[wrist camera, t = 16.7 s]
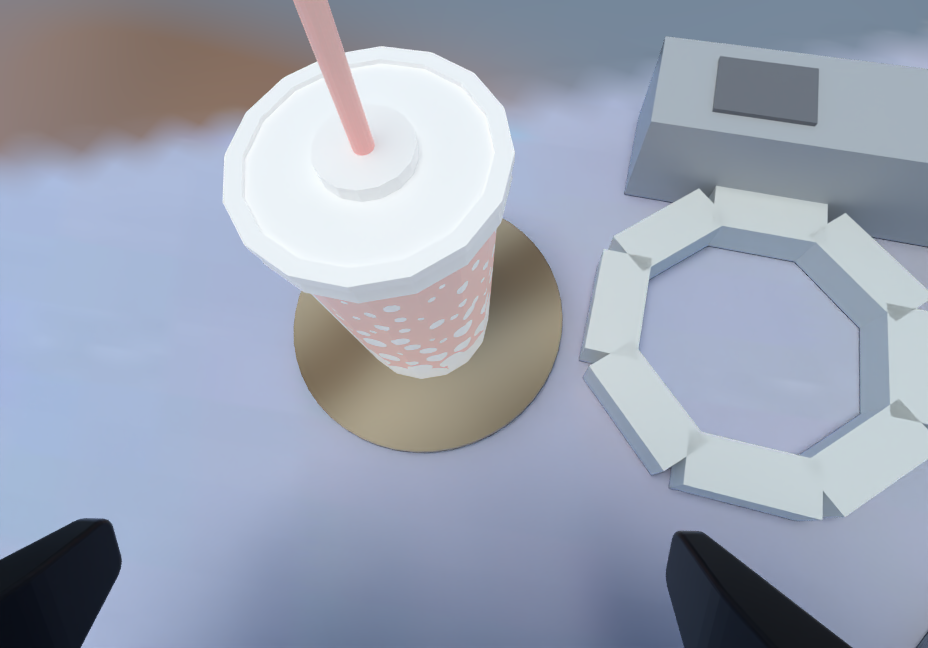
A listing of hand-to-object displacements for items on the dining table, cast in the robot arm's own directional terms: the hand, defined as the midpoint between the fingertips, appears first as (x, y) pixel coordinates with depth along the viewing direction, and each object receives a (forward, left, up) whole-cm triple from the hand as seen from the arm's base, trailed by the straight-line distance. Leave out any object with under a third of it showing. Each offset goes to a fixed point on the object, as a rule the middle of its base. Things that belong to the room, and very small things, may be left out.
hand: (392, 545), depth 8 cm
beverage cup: (+6, -4, -9) cm, 12 cm away
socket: (-3, -15, -9) cm, 17 cm away
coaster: (+6, -4, -9) cm, 12 cm away
